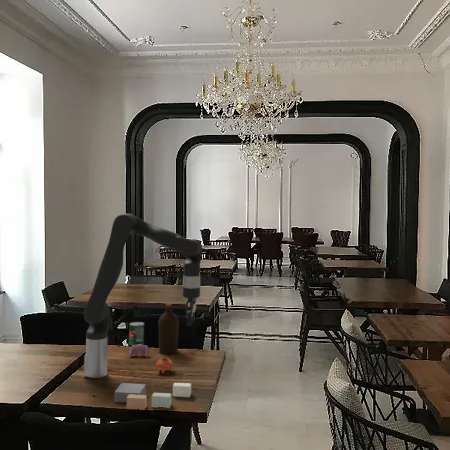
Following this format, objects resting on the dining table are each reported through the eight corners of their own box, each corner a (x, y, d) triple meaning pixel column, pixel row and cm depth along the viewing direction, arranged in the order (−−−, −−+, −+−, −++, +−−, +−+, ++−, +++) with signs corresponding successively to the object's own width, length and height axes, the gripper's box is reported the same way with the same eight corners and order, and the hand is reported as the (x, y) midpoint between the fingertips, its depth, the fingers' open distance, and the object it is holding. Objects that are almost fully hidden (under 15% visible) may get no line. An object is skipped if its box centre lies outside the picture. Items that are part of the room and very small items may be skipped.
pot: (169, 366, 252) (171, 354, 250) (174, 375, 245) (176, 362, 243) (153, 368, 249) (154, 355, 247) (157, 377, 242) (159, 364, 240)
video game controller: (149, 359, 269) (149, 345, 272) (148, 357, 265) (149, 343, 267) (129, 358, 268) (130, 344, 271) (128, 357, 264) (129, 343, 267)
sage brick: (151, 407, 205) (151, 396, 205) (153, 403, 208) (153, 392, 208) (169, 408, 204) (169, 397, 204) (171, 404, 208) (171, 393, 207)
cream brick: (172, 396, 216) (172, 385, 216) (174, 393, 220) (174, 382, 219) (189, 397, 216) (189, 386, 215) (191, 394, 219) (191, 383, 219)
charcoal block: (114, 401, 209) (114, 392, 209) (121, 392, 219) (121, 383, 219) (139, 403, 208) (139, 393, 208) (145, 393, 218) (145, 384, 218)
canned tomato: (126, 344, 289) (126, 324, 288) (135, 340, 296) (135, 321, 295) (138, 346, 285) (138, 326, 285) (146, 342, 292) (147, 323, 291)
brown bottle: (165, 355, 269) (165, 307, 268) (154, 350, 278) (154, 303, 276) (182, 352, 276) (183, 304, 275) (171, 347, 284) (171, 301, 283)
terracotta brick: (126, 409, 203) (126, 397, 202) (129, 405, 206) (129, 394, 206) (144, 410, 202) (144, 398, 202) (146, 406, 206) (146, 395, 205)
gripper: (185, 282, 235) (184, 319, 236) (180, 288, 221) (179, 326, 222) (202, 283, 234) (201, 319, 235) (198, 289, 220) (197, 327, 221)
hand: (190, 323), depth 229 cm, fingers open, 8 cm apart
